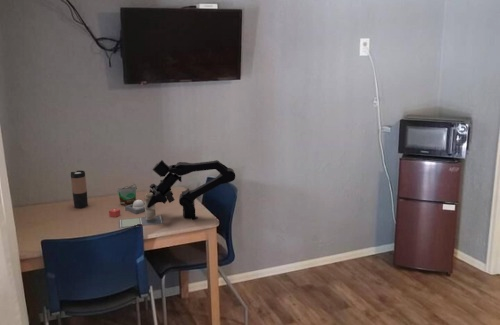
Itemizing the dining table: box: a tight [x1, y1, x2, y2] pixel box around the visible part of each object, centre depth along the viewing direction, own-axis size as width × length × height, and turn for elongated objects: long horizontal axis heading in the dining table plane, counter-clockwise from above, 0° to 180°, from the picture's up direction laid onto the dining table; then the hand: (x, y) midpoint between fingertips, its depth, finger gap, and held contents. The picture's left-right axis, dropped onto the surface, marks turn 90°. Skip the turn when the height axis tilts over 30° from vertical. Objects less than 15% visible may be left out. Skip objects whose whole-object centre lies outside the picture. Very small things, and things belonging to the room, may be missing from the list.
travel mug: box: [70, 170, 89, 209], centre depth 264 cm, size 8×8×20 cm
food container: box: [117, 183, 138, 206], centre depth 269 cm, size 12×6×10 cm, turn 143°
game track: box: [118, 215, 165, 229], centre depth 240 cm, size 22×12×1 cm, turn 106°
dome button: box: [133, 199, 145, 209], centre depth 257 cm, size 6×6×6 cm
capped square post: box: [143, 191, 157, 220], centre depth 239 cm, size 4×4×13 cm
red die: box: [108, 208, 121, 218], centre depth 248 cm, size 4×4×4 cm
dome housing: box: [124, 202, 145, 215], centre depth 257 cm, size 10×10×3 cm
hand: (147, 205), depth 239 cm, fingers closed on capped square post, 4 cm apart
